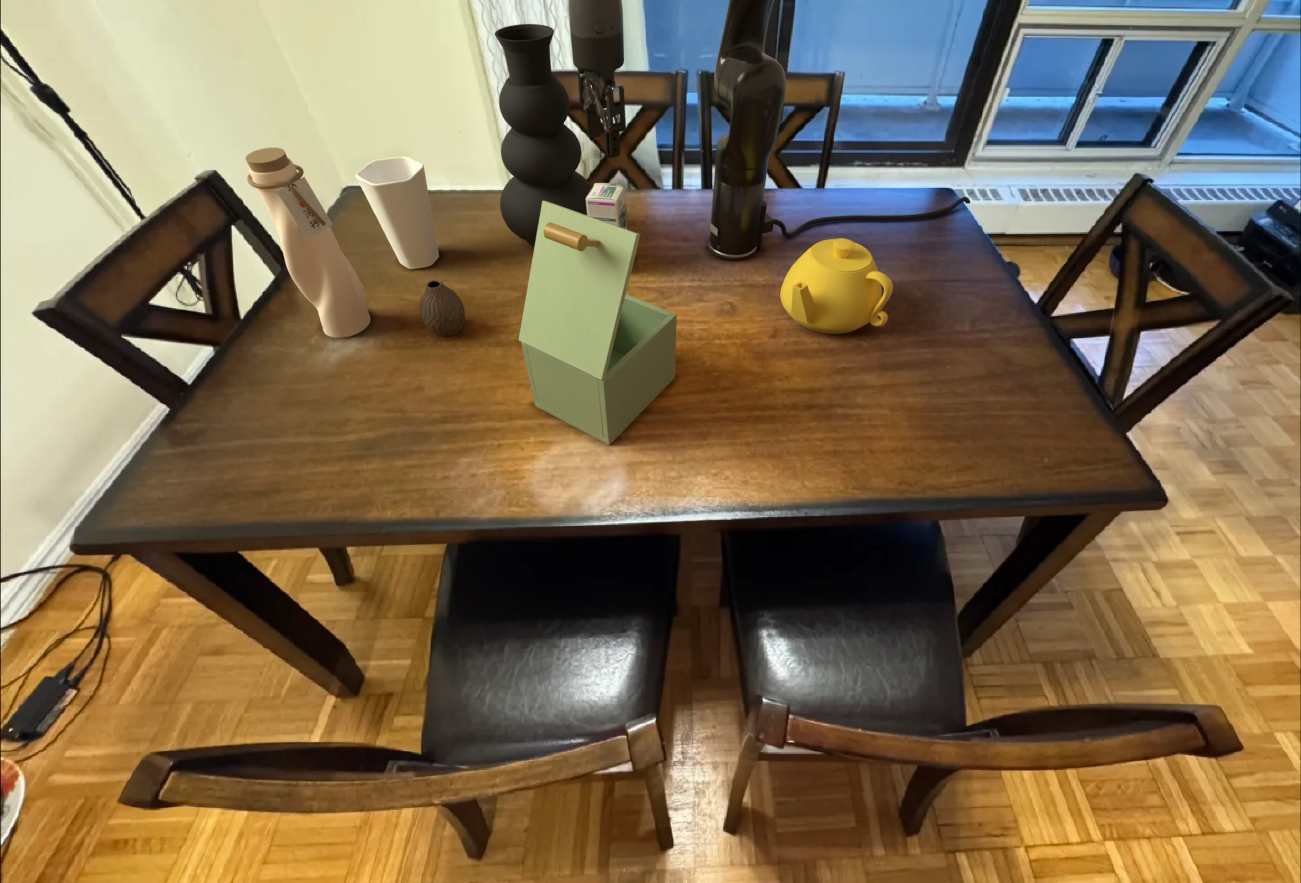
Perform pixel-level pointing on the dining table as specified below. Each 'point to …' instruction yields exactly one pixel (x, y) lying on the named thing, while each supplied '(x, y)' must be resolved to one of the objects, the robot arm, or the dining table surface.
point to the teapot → (836, 288)
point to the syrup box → (608, 204)
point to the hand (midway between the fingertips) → (603, 146)
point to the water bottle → (309, 243)
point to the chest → (610, 374)
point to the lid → (577, 287)
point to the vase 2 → (536, 133)
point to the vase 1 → (441, 309)
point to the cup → (402, 208)
